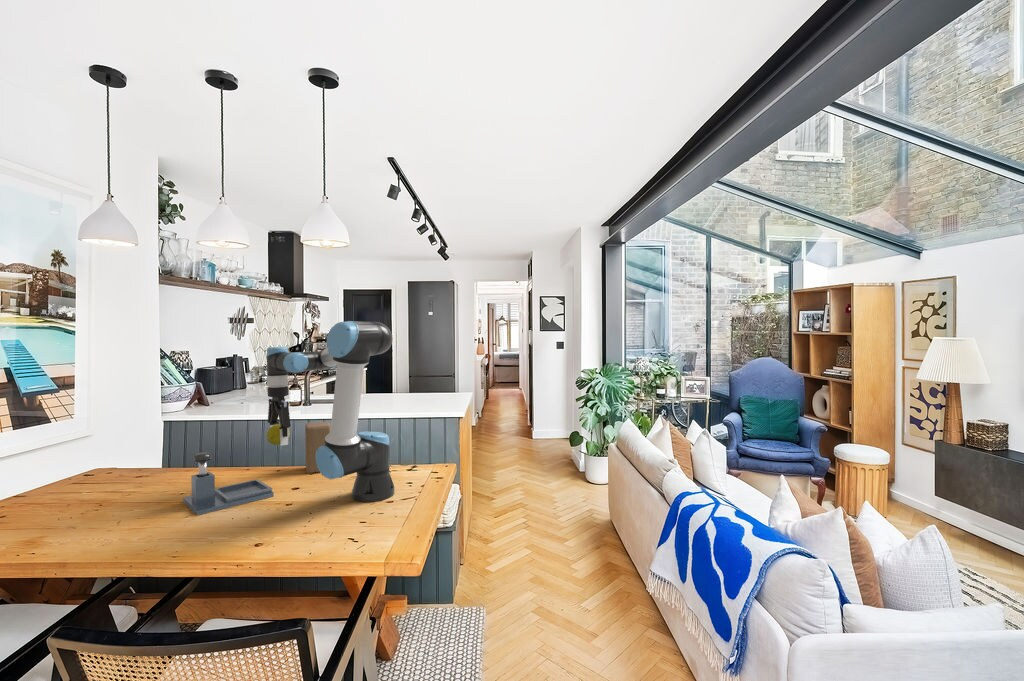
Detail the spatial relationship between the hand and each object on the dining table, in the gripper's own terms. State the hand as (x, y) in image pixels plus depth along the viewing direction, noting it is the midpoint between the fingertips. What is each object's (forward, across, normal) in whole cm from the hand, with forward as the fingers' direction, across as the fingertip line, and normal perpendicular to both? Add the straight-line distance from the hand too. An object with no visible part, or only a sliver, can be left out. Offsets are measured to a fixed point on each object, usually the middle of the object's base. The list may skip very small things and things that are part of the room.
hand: (279, 442), depth 187 cm
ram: (+9, -4, +27) cm, 29 cm away
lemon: (+1, 0, 0) cm, 1 cm away
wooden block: (+16, +8, -19) cm, 26 cm away
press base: (+16, -4, +19) cm, 25 cm away
